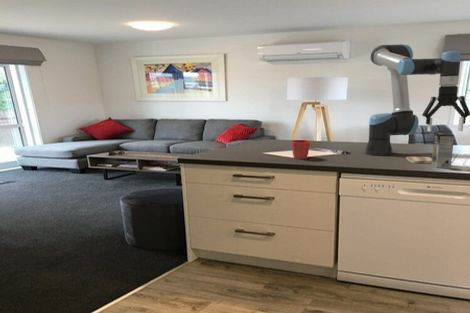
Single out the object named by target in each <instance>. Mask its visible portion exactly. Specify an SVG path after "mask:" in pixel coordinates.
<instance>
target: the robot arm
mask: <svg viewBox="0 0 470 313" xmlns="http://www.w3.org/2000/svg"><path fill="white" fill-rule="evenodd" d="M461 54H462V53H461V52H460V51H458V50H449V51H444V52H442V54H441V56H440V57H438V58H413V57H414V51H413V49H412V47H411V45H410V46H409V44H401V43H400V44H382V45H378V46H376V47H374V49H373V50H372V51H371V53H370V61H371V62H372V64H374V65H376V66H378V67H382V66H385V67H387V70H388V71H389V72H390V80H391V92H392V107H393V111H392V112H391V113H390V112H389V113H388V112H387V113H385V112H383V113H377V114H372V115H371V116H370V118H369V122H368V125H369V126H368V141H367V143H366V146H365V149H364V153H365V154H366V155H369V156H370V155H371V156H380V157H381V156H384V157H385V156H392V155H393V150H394V149H393V147H392V144H391V143H392V142H391V136H409V135H410V136H411V135H413V134H414V133H416V131H417V130H418V127H419V123H420V122H419V117H418V116H417V115H416V114H414V111H413V110H412V109H411V106H410V96H409V95H410V94H409V84H408V83H409V82H408V76H414V75H415V76H417V75H418V76H421V75H430V76H433V75H434V76H435V75H439V84H438V86H439V87H438V95H437V97H436V96H431V97H430V101H429V103H428V104H427V106H426V108H425V109H424V111H423V112H422V114H421V116H422V117H424V118H426V119H425V120H426V121H425V124H426V125H427V132H432V128H433V126H432V125H433V117H432V116H433V115H435V113H436V112H437V111H438V110H439V109H440V108H441V107H452V108H453V109H454V110H456V113H458V114H459V117H458V118H459V119H458V127H457V131H458V132H463V130H464V125H465V124H466V120H467V119H466V118H468V117H470V110H469V109H470V108H469V107H468V104H467V103H466V97H465V95H460V96H458V90H459V87H458V86H457V85H459V81H460V80H459V79H460V70H461V61H462V59H461V57H462V56H461ZM437 101H438V102H437ZM457 101H458V102H459V104H460V106H461V107H460V106H459V104H458V103H457ZM435 102H437V104H436V105H435V106H434V104H435ZM433 106H434V107H433ZM432 107H433V108H432Z"/></svg>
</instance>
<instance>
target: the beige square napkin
mask: <svg viewBox="0 0 470 313" xmlns="http://www.w3.org/2000/svg"><path fill="white" fill-rule="evenodd" d="M405 159H406V160H408V161H409V162H411V163H412V164H432V157H429V156H406V157H405Z"/></svg>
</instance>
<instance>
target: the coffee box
mask: <svg viewBox="0 0 470 313" xmlns="http://www.w3.org/2000/svg"><path fill="white" fill-rule="evenodd" d="M454 141H455V135H454V134H452V133H450V132H436V131H435V132H434V133H433V145H432V146H433V147H432V155H431V156H432V157H431V158H432V163H431V164H432V165H433V166H434V167H435V168H436V169H451V168H452V159H453V150H454Z"/></svg>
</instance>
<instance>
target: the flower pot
mask: <svg viewBox="0 0 470 313" xmlns="http://www.w3.org/2000/svg"><path fill="white" fill-rule="evenodd" d="M310 146H311V141H310V140H305V139H294V140H293V139H292V140H291V149H292V157H293V158H294V159H296V160H306V159H307V158H308V156H309V151H310Z"/></svg>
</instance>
